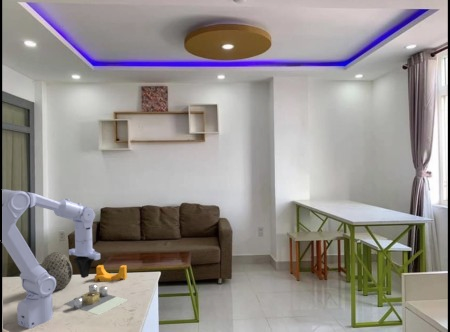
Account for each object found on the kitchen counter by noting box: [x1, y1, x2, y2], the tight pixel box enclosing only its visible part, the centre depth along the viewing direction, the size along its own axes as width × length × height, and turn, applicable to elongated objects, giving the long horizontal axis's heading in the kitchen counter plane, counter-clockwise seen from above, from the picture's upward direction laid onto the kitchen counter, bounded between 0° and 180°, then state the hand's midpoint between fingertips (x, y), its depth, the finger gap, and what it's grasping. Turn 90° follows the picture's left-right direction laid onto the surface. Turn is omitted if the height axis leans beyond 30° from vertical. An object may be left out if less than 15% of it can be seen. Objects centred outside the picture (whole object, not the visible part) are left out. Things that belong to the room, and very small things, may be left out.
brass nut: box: [82, 291, 99, 305], centre depth 122 cm, size 6×5×3 cm
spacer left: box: [72, 296, 83, 310], centre depth 117 cm, size 3×3×3 cm
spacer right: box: [98, 285, 108, 297], centre depth 127 cm, size 3×3×3 cm
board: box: [64, 291, 128, 316], centre depth 122 cm, size 13×18×1 cm
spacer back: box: [88, 283, 98, 292], centre depth 129 cm, size 3×3×3 cm
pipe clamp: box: [94, 264, 128, 282], centre depth 144 cm, size 12×4×6 cm, turn 87°
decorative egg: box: [40, 251, 73, 292], centre depth 135 cm, size 12×12×15 cm
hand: (84, 276), depth 123 cm, fingers closed
